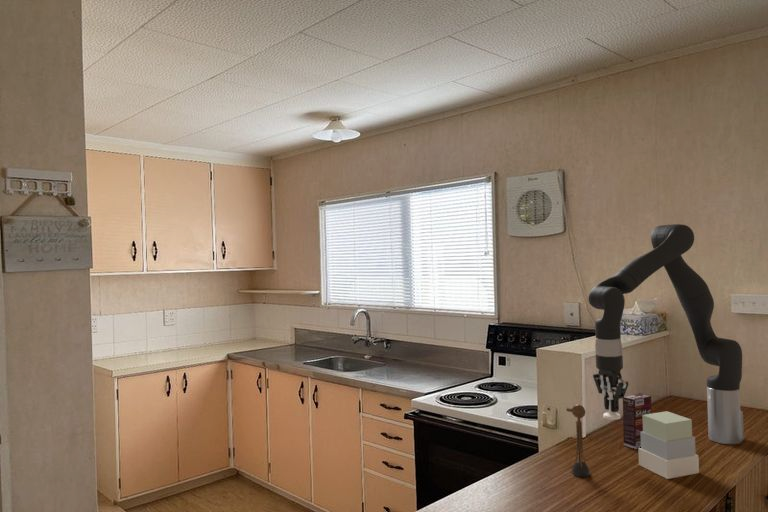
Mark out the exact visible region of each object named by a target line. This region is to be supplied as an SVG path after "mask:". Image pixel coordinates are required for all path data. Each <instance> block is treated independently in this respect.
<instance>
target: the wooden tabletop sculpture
mask: <svg viewBox="0 0 768 512" xmlns="http://www.w3.org/2000/svg"><path fill="white" fill-rule="evenodd" d="M566 412H569V413H572V415H573V416H574V417H575V418H577V420H576V421H575V424H576V425H575V427H576V452H575V453H576V454H575V461H574V464H573V466H572V468H571V474H572V475H573V476H575V477H579V478H584V477H585V478H586V477H589V476H590V474H591V473H590V471H591V470H590V467H589V466H588V465H587V463H586V459H585V458H586V457H585V453H584V445H583V443H584V442H583V428H582V426H583V425H582V424H583V423H582V422H583V421H582V420H581V419H582V418H584V417H585V415H586V409H585V407H584V406H583V405H582V404H574V405H573V406H572V408H571V407H567V408H566ZM582 459H583V460H582ZM577 460H578V461H577Z"/></svg>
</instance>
